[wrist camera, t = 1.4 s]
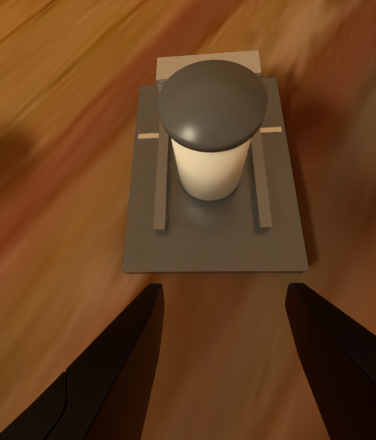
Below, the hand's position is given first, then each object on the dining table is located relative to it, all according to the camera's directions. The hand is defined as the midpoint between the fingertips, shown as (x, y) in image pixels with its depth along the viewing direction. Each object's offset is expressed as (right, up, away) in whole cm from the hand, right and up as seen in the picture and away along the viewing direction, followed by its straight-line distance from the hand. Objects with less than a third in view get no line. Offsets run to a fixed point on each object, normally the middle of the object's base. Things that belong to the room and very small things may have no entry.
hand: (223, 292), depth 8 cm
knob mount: (+1, +8, +17) cm, 19 cm away
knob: (+1, +7, +15) cm, 17 cm away
